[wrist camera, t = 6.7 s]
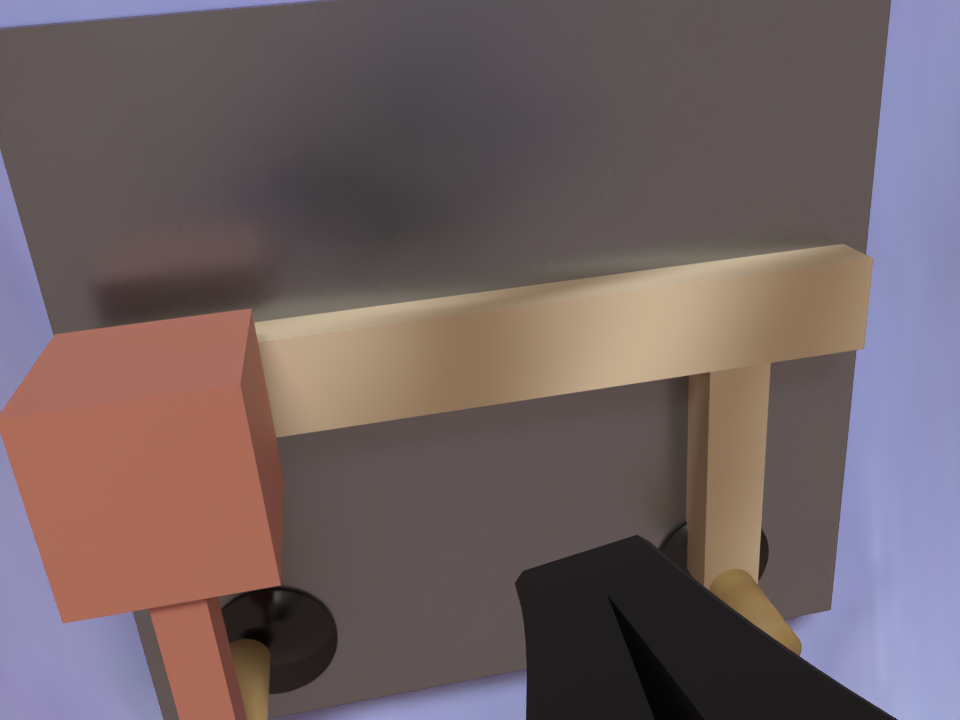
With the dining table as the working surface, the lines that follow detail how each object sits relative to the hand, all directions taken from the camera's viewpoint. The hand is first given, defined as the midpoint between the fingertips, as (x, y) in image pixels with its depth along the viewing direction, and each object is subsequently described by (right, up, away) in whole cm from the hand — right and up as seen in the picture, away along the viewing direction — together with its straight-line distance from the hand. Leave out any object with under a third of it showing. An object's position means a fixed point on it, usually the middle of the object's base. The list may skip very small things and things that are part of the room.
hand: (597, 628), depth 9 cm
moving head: (-6, -1, +8) cm, 10 cm away
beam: (-1, +1, +9) cm, 9 cm away
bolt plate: (-1, +3, +9) cm, 9 cm away
